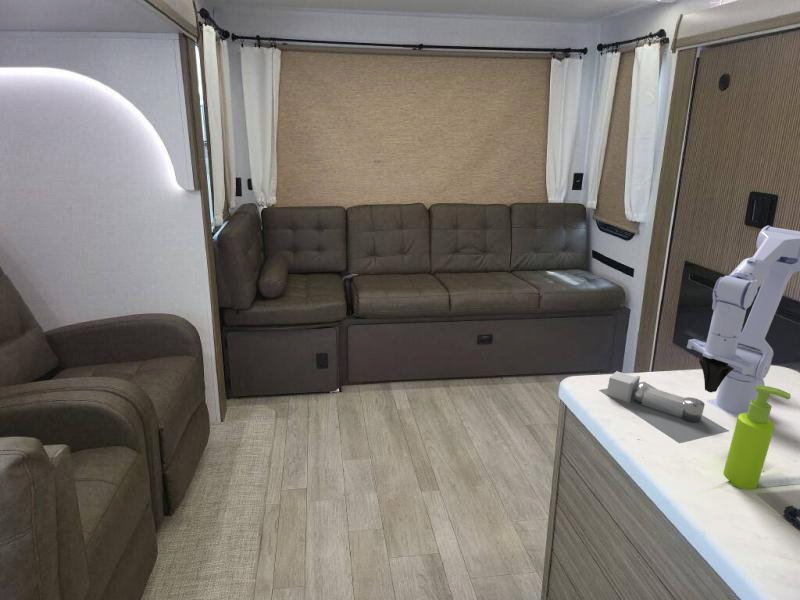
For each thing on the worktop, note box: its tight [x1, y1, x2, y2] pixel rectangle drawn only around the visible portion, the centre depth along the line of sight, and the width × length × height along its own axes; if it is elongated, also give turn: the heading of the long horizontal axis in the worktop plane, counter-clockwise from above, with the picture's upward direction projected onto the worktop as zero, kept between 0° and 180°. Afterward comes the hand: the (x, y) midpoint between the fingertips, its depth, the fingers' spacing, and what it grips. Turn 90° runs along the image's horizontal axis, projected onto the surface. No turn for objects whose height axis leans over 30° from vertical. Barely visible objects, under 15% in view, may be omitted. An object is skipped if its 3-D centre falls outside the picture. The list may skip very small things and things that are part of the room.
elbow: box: [635, 382, 705, 422], centre depth 133 cm, size 14×5×5 cm, turn 52°
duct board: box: [598, 370, 730, 444], centre depth 133 cm, size 15×25×6 cm, turn 23°
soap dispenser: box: [723, 385, 791, 491], centre depth 106 cm, size 6×7×20 cm
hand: (710, 390), depth 124 cm, fingers closed
